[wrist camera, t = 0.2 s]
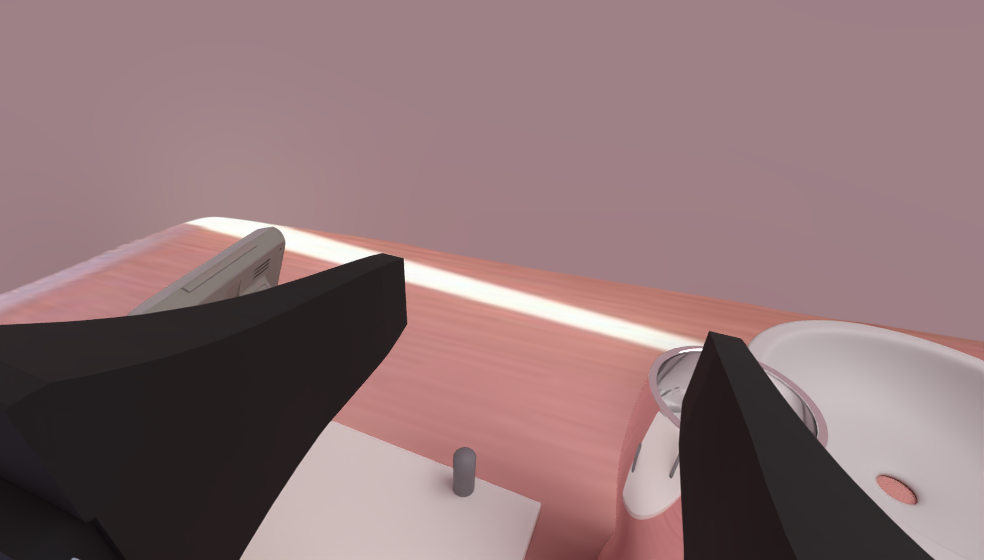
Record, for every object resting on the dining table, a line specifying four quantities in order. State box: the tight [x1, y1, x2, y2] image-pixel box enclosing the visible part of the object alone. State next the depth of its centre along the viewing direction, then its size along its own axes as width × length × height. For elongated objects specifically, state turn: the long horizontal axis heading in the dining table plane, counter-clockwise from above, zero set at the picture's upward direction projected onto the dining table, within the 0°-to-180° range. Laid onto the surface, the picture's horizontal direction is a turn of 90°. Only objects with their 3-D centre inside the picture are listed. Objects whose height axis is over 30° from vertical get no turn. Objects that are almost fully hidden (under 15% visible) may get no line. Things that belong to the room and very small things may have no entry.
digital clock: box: [127, 227, 285, 316], centre depth 37 cm, size 16×9×11 cm, turn 160°
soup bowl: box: [747, 320, 984, 560], centre depth 30 cm, size 24×24×7 cm
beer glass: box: [597, 346, 828, 560], centre depth 22 cm, size 7×7×15 cm
